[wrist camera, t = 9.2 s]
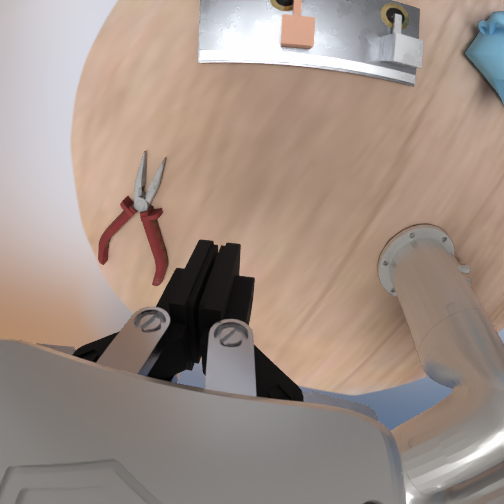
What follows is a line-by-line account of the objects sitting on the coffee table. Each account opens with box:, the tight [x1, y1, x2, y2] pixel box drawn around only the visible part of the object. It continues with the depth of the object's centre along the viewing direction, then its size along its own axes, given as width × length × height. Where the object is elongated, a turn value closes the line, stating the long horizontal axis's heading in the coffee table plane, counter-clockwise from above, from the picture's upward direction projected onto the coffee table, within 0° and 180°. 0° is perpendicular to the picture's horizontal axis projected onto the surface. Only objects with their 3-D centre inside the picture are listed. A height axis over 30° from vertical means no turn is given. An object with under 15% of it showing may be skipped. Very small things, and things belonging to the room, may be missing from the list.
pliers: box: [98, 151, 168, 286], centre depth 41 cm, size 12×20×3 cm, turn 158°
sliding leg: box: [281, 0, 315, 49], centre depth 24 cm, size 3×6×4 cm, turn 178°
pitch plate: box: [198, 0, 424, 86], centre depth 24 cm, size 24×10×6 cm, turn 88°
